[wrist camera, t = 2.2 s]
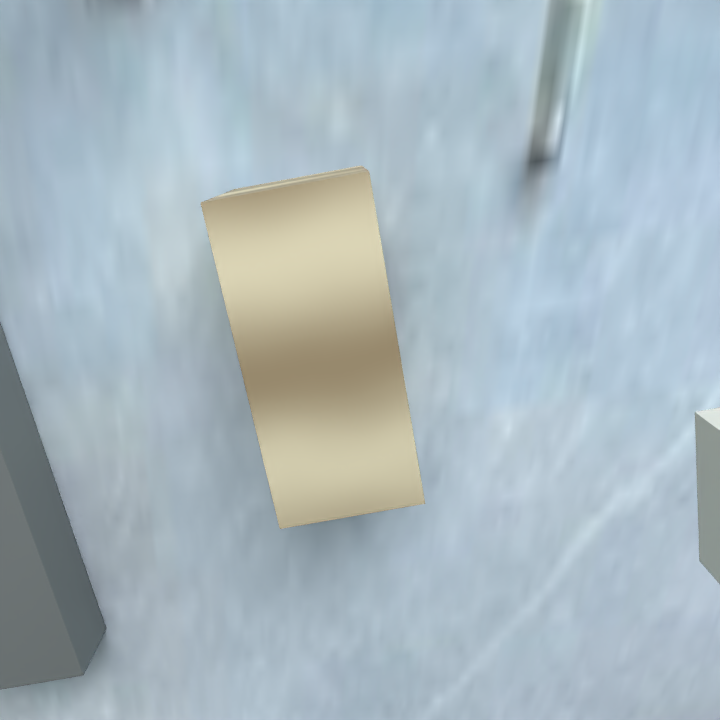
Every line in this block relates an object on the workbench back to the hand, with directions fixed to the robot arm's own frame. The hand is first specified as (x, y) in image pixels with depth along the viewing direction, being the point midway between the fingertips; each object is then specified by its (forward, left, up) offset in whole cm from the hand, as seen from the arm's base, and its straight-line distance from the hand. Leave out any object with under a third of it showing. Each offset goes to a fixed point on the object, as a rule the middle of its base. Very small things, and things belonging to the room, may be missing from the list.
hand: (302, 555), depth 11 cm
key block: (0, 0, -18) cm, 18 cm away
